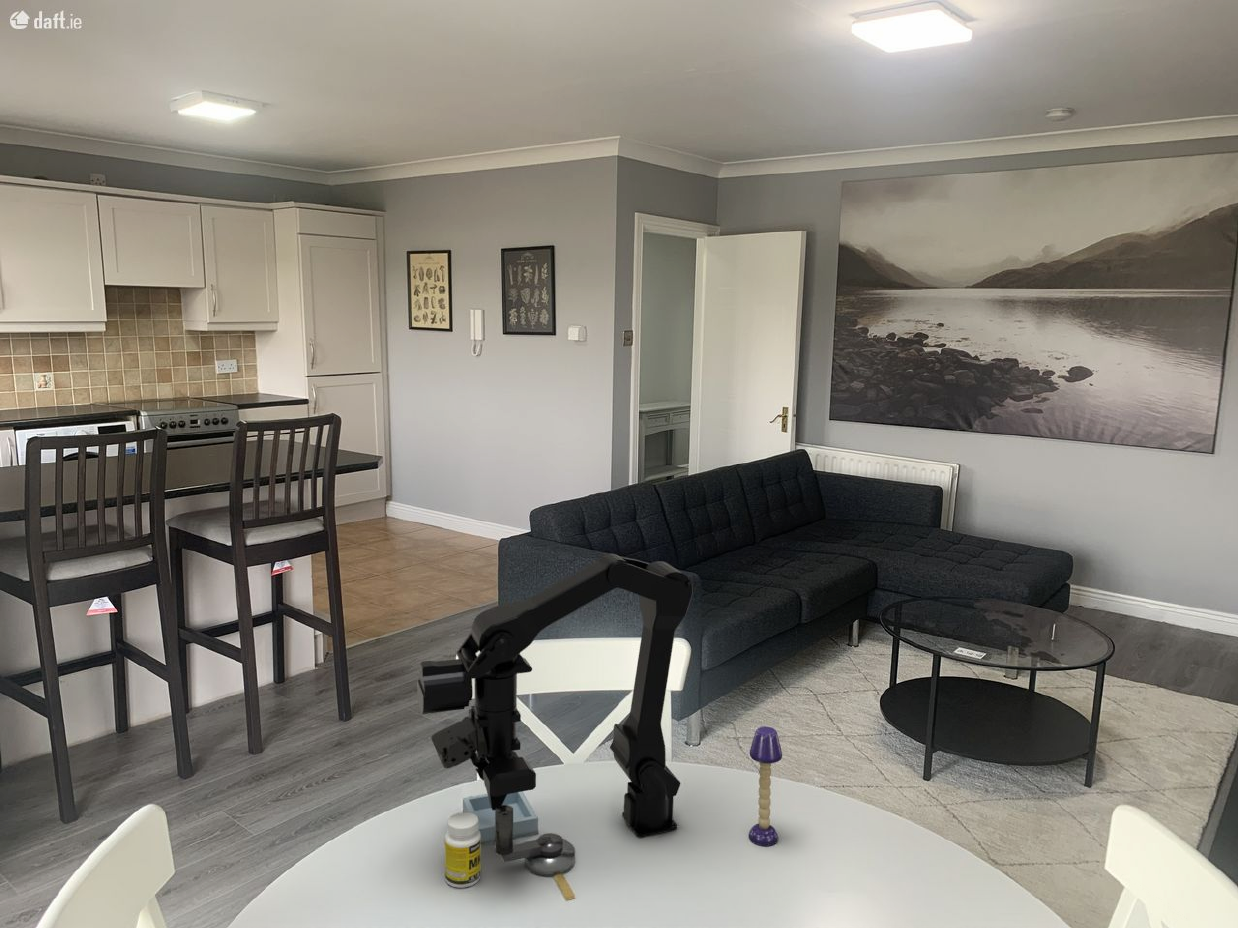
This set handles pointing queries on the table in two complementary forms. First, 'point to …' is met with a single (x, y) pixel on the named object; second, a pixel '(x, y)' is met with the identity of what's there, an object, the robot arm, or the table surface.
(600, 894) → the table surface
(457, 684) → the robot arm
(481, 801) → the tray
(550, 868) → the crank base
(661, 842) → the table surface
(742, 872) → the table surface
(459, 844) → the supplement bottle
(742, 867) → the table surface
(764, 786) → the toy lamp
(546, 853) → the crank
